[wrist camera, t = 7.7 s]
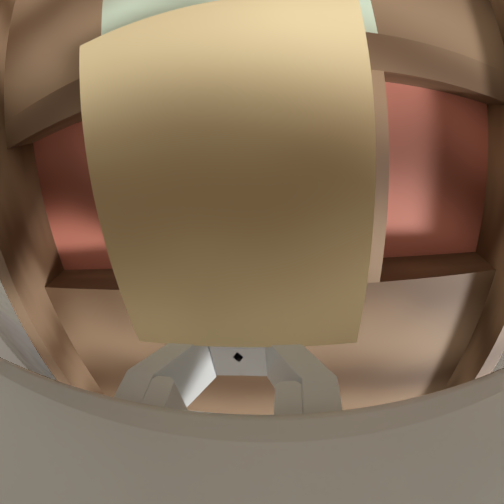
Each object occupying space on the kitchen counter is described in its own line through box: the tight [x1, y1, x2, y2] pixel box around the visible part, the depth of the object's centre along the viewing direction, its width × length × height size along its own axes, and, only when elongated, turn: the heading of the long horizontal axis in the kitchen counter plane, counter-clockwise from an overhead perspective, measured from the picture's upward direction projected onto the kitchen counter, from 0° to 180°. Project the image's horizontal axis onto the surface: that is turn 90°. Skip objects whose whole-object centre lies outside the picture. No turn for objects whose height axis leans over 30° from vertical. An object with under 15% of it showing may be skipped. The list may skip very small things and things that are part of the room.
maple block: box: [79, 0, 376, 347], centre depth 7 cm, size 8×6×4 cm
